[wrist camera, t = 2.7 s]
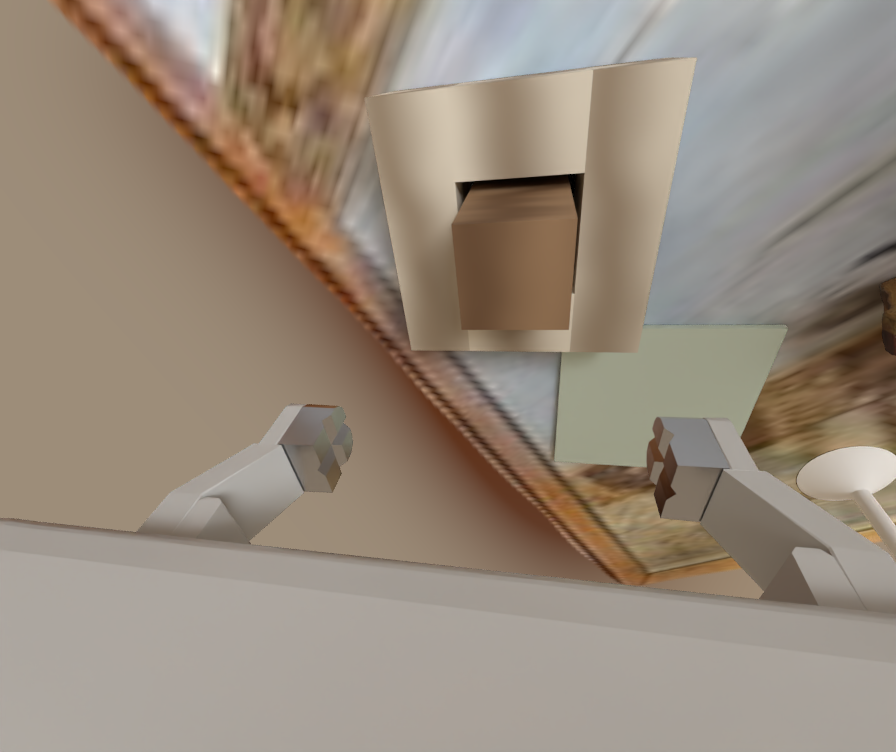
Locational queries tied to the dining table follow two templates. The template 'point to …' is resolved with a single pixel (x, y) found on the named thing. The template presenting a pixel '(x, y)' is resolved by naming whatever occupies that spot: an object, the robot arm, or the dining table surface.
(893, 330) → the wooden carving
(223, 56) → the dining table surface
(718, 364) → the sage mat
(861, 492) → the champagne flute
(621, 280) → the pocket block
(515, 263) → the walnut peg
